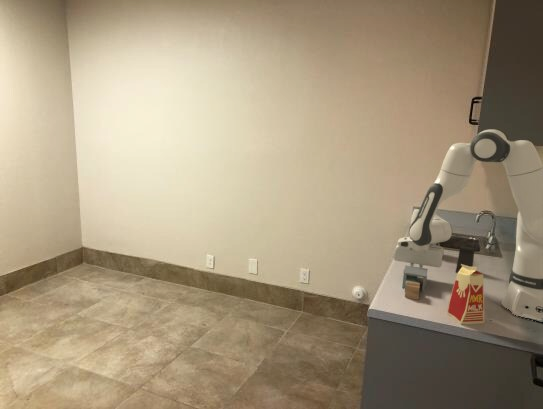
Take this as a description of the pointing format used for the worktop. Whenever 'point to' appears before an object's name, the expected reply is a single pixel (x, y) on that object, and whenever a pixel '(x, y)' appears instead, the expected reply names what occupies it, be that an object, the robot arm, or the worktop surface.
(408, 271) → the tunnel
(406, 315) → the worktop surface
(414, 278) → the bar
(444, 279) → the worktop surface
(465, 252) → the phone stand
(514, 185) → the robot arm
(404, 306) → the worktop surface
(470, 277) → the milk carton
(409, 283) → the cube
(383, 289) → the worktop surface
